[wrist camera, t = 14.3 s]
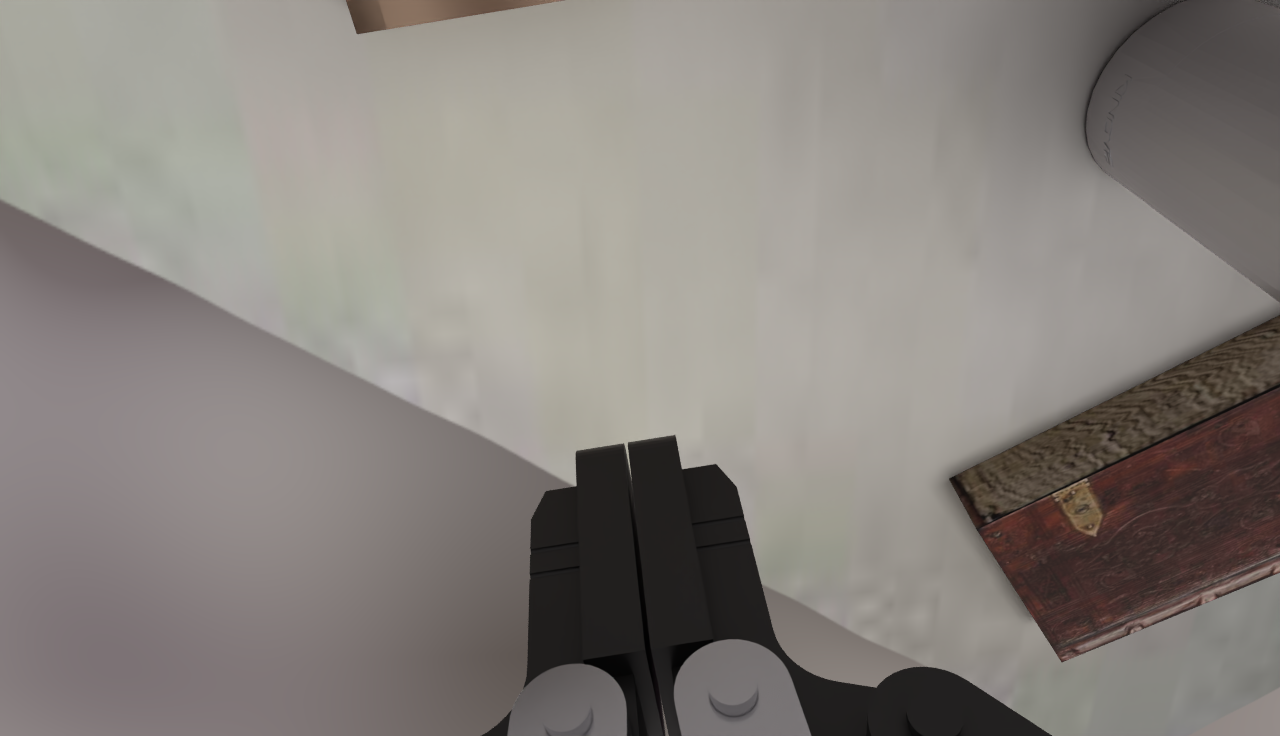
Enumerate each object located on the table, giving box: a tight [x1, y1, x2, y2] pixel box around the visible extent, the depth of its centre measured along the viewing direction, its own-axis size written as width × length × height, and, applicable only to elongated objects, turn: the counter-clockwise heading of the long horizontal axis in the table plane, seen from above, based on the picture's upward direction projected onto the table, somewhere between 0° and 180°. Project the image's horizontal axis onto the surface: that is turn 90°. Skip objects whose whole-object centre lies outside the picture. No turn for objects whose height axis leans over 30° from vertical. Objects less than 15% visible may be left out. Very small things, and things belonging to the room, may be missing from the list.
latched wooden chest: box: [949, 315, 1280, 662], centre depth 54 cm, size 29×19×5 cm, turn 124°
